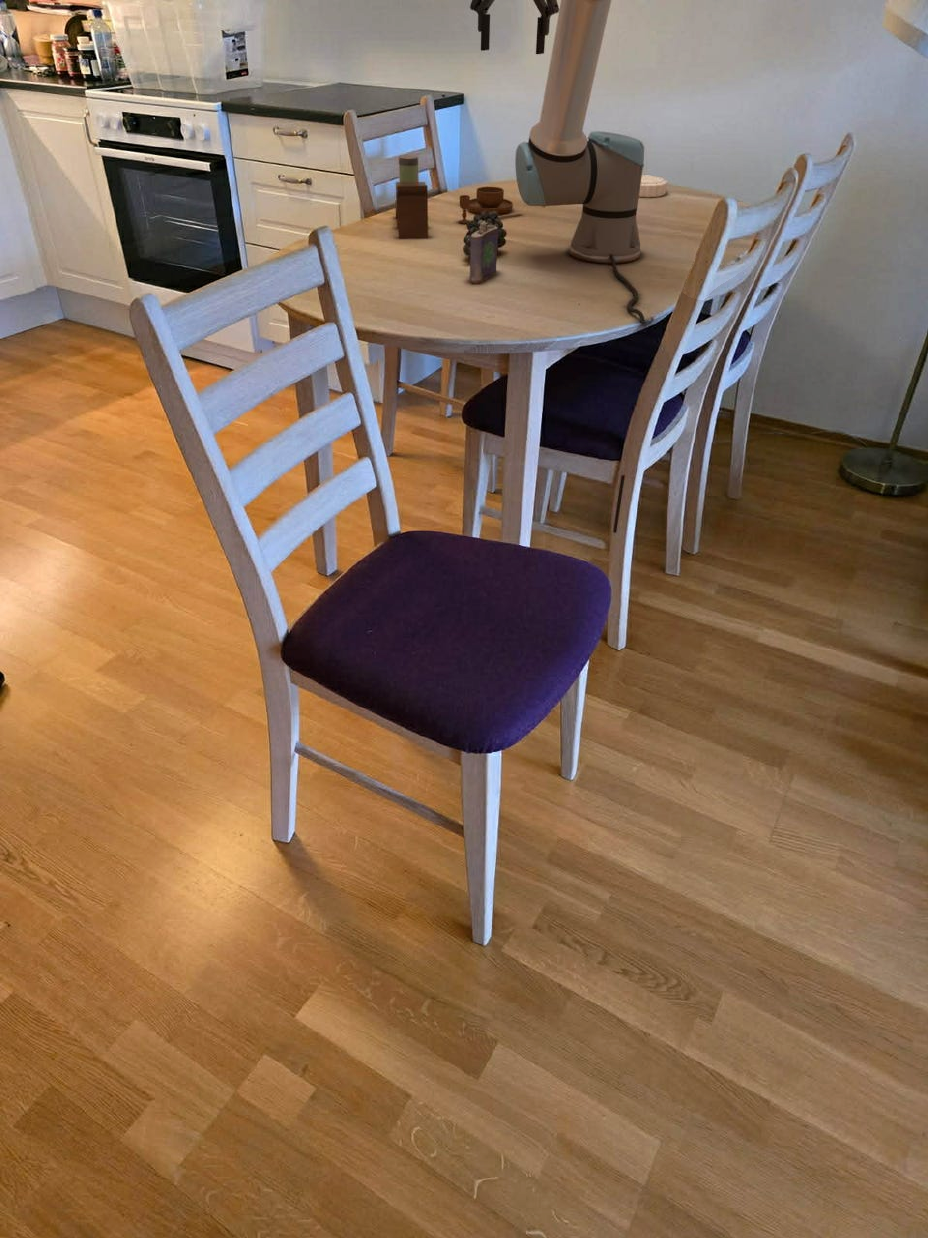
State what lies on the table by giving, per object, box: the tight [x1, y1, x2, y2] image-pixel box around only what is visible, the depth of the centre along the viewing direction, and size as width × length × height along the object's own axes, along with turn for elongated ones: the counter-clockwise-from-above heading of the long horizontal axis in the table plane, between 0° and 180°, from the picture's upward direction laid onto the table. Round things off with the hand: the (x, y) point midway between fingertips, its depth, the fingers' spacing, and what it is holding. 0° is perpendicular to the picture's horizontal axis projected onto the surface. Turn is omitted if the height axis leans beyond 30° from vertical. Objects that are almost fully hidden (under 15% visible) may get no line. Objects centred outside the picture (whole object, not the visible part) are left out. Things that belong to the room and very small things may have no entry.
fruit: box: [462, 211, 508, 259], centre depth 180 cm, size 9×8×15 cm
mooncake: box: [639, 174, 668, 198], centre depth 232 cm, size 12×12×4 cm
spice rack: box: [394, 181, 429, 239], centre depth 197 cm, size 19×7×11 cm, turn 6°
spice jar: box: [397, 154, 420, 182], centre depth 200 cm, size 5×5×10 cm
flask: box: [469, 220, 498, 285], centre depth 168 cm, size 9×3×11 cm, turn 151°
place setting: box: [458, 186, 522, 225], centre depth 211 cm, size 18×20×6 cm
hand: (512, 51), depth 185 cm, fingers open, 13 cm apart
